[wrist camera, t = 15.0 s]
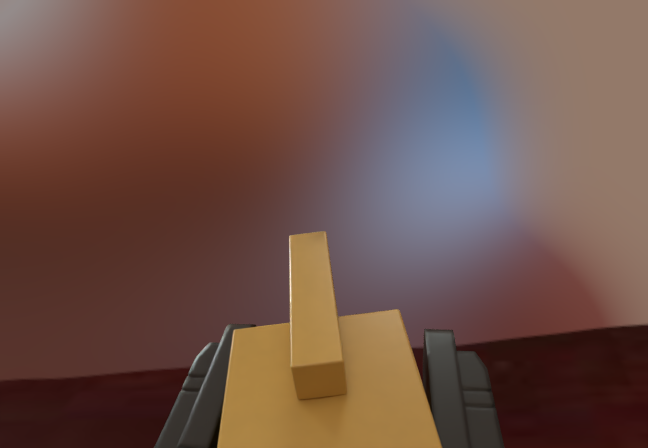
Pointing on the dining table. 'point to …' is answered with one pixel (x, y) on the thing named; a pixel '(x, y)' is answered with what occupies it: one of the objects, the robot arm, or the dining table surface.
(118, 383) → the dining table surface
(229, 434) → the golden block with ridge
